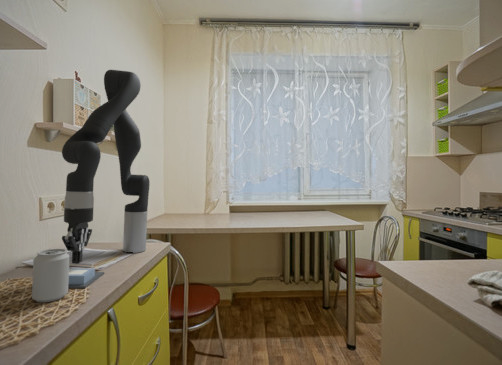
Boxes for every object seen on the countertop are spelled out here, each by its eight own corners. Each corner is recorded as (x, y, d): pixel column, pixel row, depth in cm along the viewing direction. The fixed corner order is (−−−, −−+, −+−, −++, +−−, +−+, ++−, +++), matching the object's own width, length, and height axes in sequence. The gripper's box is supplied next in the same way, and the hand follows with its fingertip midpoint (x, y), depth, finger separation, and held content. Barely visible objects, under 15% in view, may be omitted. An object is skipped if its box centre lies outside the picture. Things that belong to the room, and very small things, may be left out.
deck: (64, 268, 82) (50, 275, 75) (95, 268, 83) (84, 275, 76) (63, 276, 82) (50, 284, 75) (94, 276, 83) (83, 284, 76)
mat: (58, 273, 85) (58, 271, 86) (104, 273, 87) (104, 272, 87) (31, 288, 74) (31, 286, 74) (85, 288, 75) (85, 286, 75)
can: (66, 289, 74) (67, 246, 74) (70, 298, 68) (72, 251, 68) (31, 296, 69) (33, 249, 69) (32, 306, 63) (34, 256, 63)
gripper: (78, 204, 88) (75, 256, 88) (52, 207, 75) (49, 270, 74) (101, 204, 88) (99, 257, 88) (80, 208, 75) (78, 270, 75)
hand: (76, 262), depth 81 cm, fingers closed
